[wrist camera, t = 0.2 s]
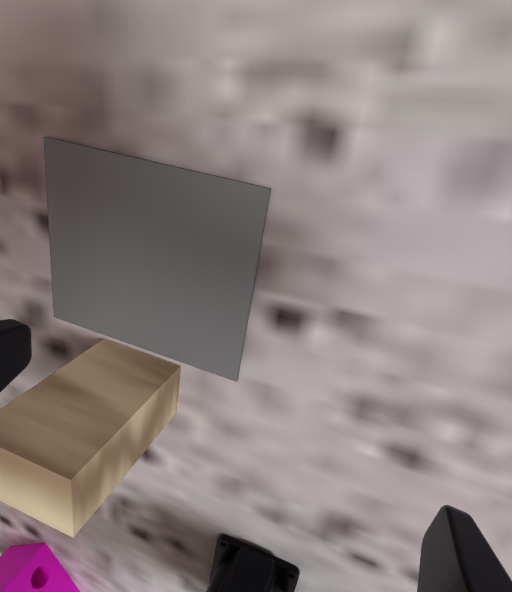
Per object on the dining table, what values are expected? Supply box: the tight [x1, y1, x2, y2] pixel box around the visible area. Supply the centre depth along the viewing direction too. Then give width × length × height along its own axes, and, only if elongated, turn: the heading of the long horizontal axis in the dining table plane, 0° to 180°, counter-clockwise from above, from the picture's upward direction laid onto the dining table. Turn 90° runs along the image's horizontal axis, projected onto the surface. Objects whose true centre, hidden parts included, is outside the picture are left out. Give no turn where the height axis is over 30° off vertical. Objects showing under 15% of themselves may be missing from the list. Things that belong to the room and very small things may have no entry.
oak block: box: [0, 339, 181, 538], centre depth 24 cm, size 4×6×10 cm, turn 80°
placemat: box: [44, 137, 271, 382], centre depth 25 cm, size 12×14×1 cm
